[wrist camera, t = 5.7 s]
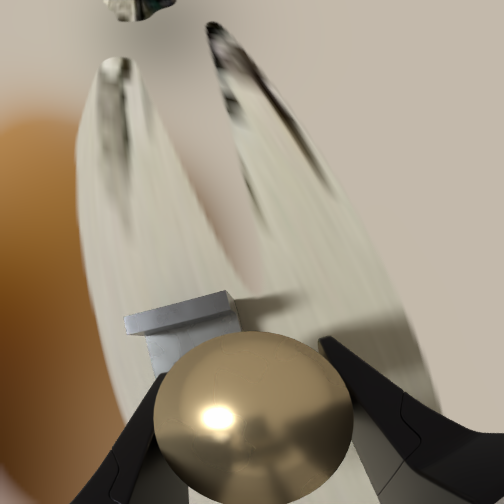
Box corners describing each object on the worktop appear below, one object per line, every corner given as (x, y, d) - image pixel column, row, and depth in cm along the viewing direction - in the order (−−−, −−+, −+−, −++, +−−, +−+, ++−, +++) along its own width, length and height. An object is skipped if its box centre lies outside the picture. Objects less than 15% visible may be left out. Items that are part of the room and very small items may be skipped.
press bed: (266, 412, 20) (265, 430, 15) (178, 429, 19) (159, 447, 15) (234, 299, 22) (225, 290, 18) (149, 321, 22) (123, 316, 18)
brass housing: (313, 405, 15) (366, 481, 5) (231, 424, 15) (184, 514, 5) (294, 327, 16) (328, 308, 7) (211, 346, 16) (134, 351, 7)
